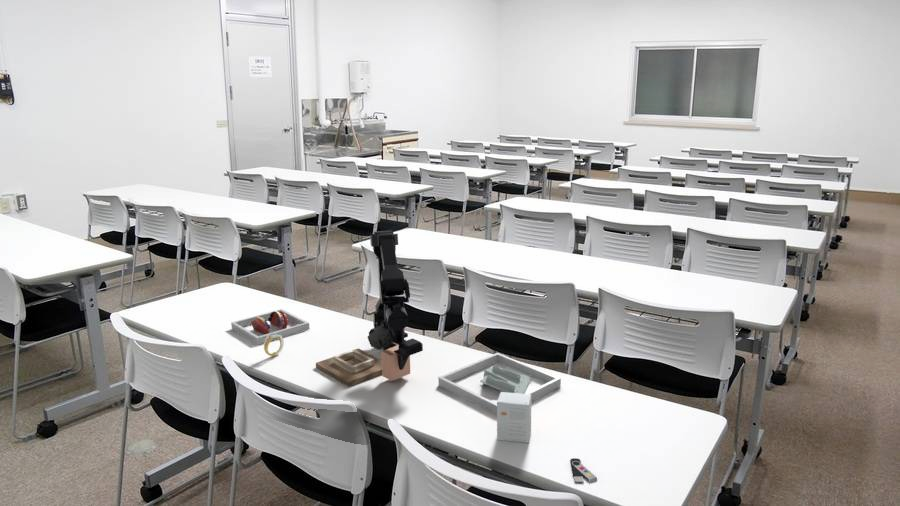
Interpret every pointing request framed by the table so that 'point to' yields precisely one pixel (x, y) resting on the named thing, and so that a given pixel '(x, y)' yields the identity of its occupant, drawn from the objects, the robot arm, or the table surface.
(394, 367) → the key block
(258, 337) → the jewellery tray
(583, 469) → the usb flash drive
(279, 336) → the ring
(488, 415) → the table surface
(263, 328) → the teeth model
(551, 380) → the bracket rim
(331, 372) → the socket board
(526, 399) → the small box
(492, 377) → the metal bracket
